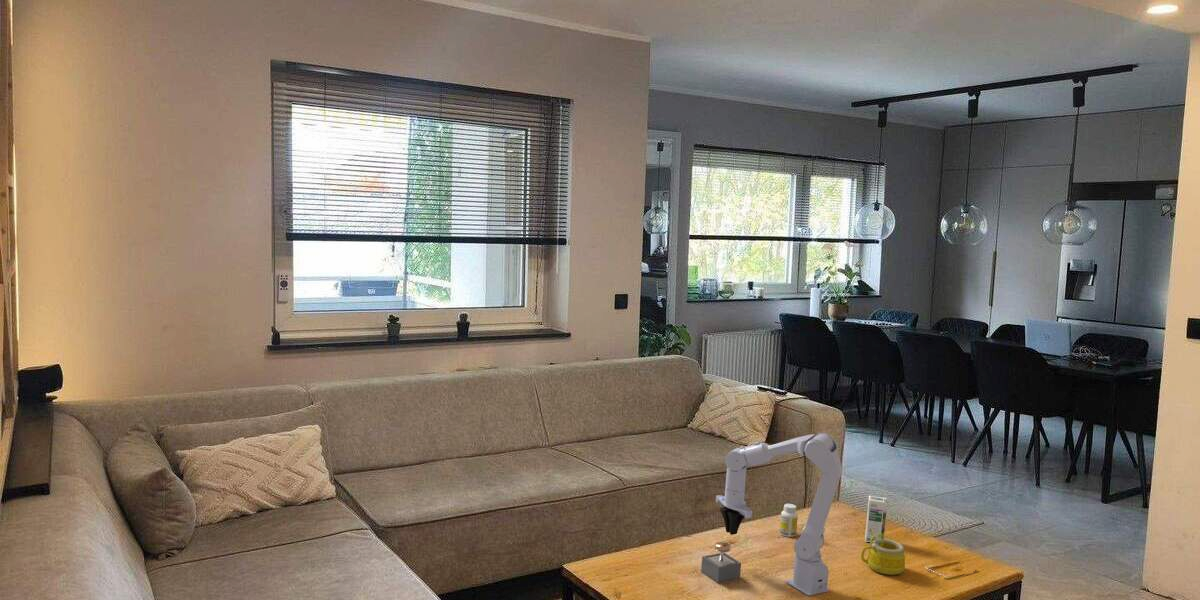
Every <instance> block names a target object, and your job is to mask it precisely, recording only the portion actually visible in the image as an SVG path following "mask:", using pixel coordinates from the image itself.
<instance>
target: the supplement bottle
mask: <svg viewBox="0 0 1200 600" xmlns="http://www.w3.org/2000/svg"><path fill="white" fill-rule="evenodd" d="M798 517H799V515H798V513H797V505H795V504H793V503H785V504H784V505H783V510H782V511H781V512H780V521H779V522H780V523H779V524H780V525H779V534H780V535H781V536H783V537H786V538H793V537H795V536H796V535H797V528H798Z"/></svg>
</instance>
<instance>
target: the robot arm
mask: <svg viewBox="0 0 1200 600" xmlns="http://www.w3.org/2000/svg"><path fill="white" fill-rule="evenodd" d="M791 453H798V454H799V455H800V456H802V457H804V456H806V457H807V459H809V461H811V463H813V464H814V465H815V466H816V467H817V468H818V469H819V471H820V473H821V476H820V478H819V479H820V480H819V482H818V486H817V488H816V492H815V496H814V499H813V501H812V505H811V508H810V511H809V514H808V518H807V521H806V524H805V525H804V527H803V529H802V531H801V534H800V537H799V538H798V539H797V540H796V541H794V544H793V550H794V554H795V555H794V565H793V574H792V575H793V577H792V578H791V579H786V581H785V583H787V584H788V585H790V586H792V587H793V588H795V589H797V590H798V591H800V592H801V593H803V594H805V595H806V596H808V597H810V596H814V595H818V594H823V593H827V592H830V589H829V588H828V581H829V571H830V570H829V567H828V566H827V565H826V563H824V561H823V560H822V554H821V551H820V550H821V549H822V548H823V547H824V545H825V536H824V533H825V531H826V529H825V525H826V522H827V518H828V516H829V513H830V509H831V507H832V503H833V500H834V497H835V495H836V492H837V488H838V486H839V482H840V480H841V476H842V474H843V468H842V467H843V466H842V463H841V458H840V455H839V445H838V443H837V441H835V439H834V437H832V435H830V434H829V433H825V432H820V433H817V434H815V433H814V434H813V433H812V434H807V435H802V436H798V437H794V438H790V439H788V440H784V441H781V442H778V443H775V444H771V445H769V444H768V443H766V442H760V441H759V440H758V441H756V442H754V444H752V445H748V446H745V445H742V446H740V447H736V448H734V449H733V450H731V451H729V452H728V453H727V454H726V456H725V457H724V464H725V466H726V476H725V478H726V479H725V489H724V495H722V494H720V495H719V494H718V495H715V502H716V503H718V504H719V503H720V504H721V505H723V507H720V508H719V509H720V513H721V515H722V518H723V520H724V521H723V522H724V527H725V532H726V533H729V535H731V536H732V535H737V534H738V531H739V528H740V526H741V523H742V522H743V520H744V518H746V519H749V518H750V519H751V518H752V517H753V510H751V509H750V508H749V507H748V506H747V502H746V501H745V492H746V480H747V479H746V477H747V467H753V466H754V467H755V466H758V465H761V464H766V463H769V462H771V459H772V458H773V457H777V456H781V455H786V454H791Z"/></svg>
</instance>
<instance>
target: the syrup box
mask: <svg viewBox="0 0 1200 600" xmlns="http://www.w3.org/2000/svg"><path fill="white" fill-rule="evenodd" d="M887 510H888V498H887V497H883V496H882V497H881V496H875V495H868V502H867V511H866V513H867V514H866V525H865V533H864V535H865V537H864V541H865V543H867V542H870V539H871V538H872V534H873V535H875V534H880V535H882V536H883V538H884V539H885V530H886V521H887V512H888V511H887ZM869 529H871V532H872V534H871V532H870V531H869ZM878 536H879V535H877V536H875V538H876V539H882V537H880V536H879V537H880V538H878ZM872 541H874V539H872Z"/></svg>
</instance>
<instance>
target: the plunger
mask: <svg viewBox="0 0 1200 600" xmlns="http://www.w3.org/2000/svg"><path fill="white" fill-rule="evenodd" d="M714 550H715V551H718V552H719V553H720V555H719V556H713V557H708V559H709V560H711V561H712V562H714V563H715V564H717V565H718V566H723V565H728V564H733V563H736V562H734V561H733V560H731V559H730V558H728V557H726V556H725V555H724V553H728V552H730V551H731V544H729V543H728V542H724V541H717V542H715V544H714Z"/></svg>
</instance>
